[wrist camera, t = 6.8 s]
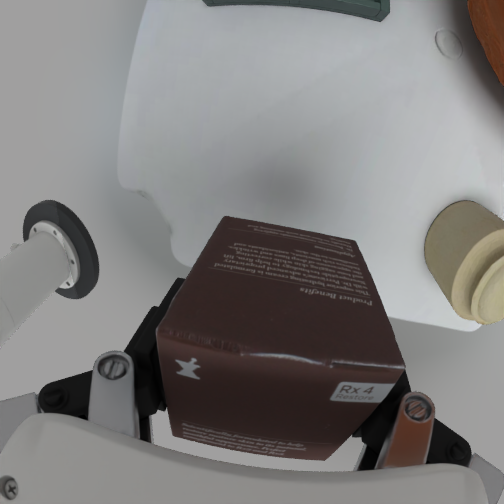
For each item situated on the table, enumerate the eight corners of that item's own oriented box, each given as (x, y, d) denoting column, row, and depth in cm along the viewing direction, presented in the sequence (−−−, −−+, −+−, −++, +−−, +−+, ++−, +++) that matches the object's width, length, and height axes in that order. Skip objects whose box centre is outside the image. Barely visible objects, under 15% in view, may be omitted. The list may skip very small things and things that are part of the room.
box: (212, 316, 15) (167, 436, 9) (222, 210, 12) (147, 326, 6) (322, 337, 15) (326, 463, 8) (360, 238, 12) (412, 372, 5)
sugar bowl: (516, 209, 24) (587, 266, 11) (493, 281, 29) (544, 352, 16) (433, 193, 26) (513, 259, 13) (413, 279, 31) (458, 370, 18)
